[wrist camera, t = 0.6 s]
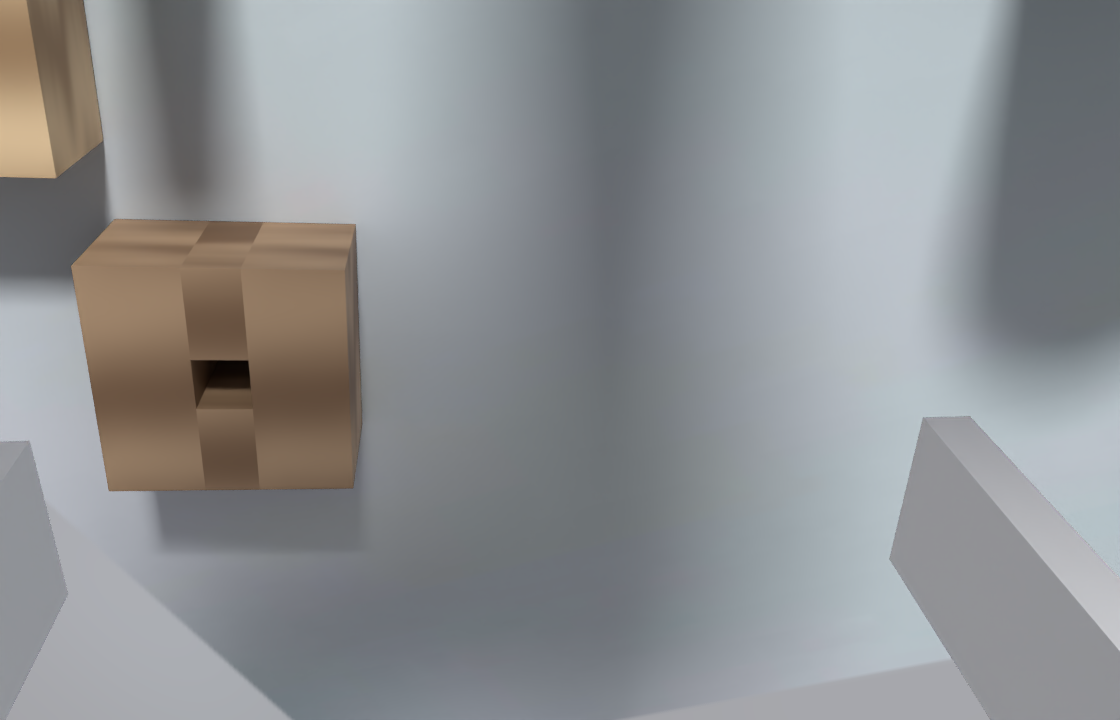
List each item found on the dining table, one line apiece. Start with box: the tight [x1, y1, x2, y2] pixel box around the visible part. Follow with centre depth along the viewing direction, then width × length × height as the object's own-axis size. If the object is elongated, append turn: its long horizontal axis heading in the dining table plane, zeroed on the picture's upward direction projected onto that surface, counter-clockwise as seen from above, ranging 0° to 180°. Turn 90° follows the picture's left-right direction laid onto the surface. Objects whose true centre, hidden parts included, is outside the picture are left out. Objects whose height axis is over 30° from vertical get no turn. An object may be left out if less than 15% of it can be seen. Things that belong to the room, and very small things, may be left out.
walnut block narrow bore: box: [71, 219, 362, 491], centre depth 38 cm, size 9×9×5 cm
